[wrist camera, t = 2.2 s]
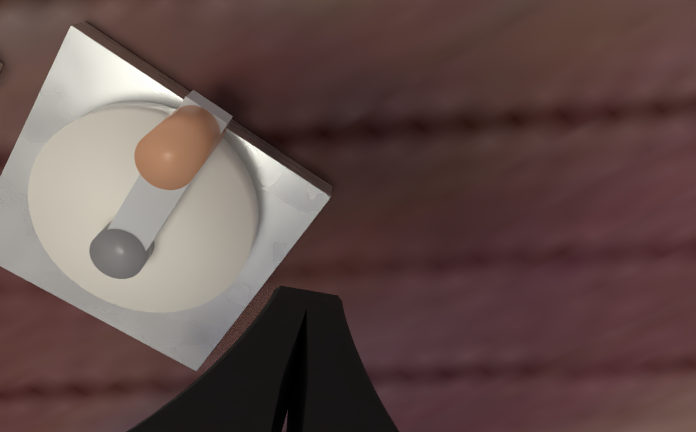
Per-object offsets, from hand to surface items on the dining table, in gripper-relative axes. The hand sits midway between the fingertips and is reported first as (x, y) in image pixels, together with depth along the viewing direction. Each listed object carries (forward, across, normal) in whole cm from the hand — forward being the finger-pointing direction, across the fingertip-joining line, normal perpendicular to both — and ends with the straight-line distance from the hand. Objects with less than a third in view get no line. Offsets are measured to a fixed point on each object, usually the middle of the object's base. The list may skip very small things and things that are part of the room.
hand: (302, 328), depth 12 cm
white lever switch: (+8, +6, +2) cm, 10 cm away
